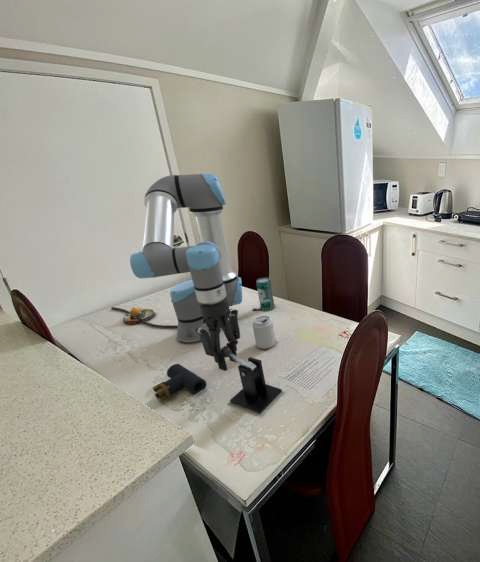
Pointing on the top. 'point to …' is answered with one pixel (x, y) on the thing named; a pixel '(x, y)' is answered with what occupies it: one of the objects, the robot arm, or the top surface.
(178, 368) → the pipe connector
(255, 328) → the can
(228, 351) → the tap lever
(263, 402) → the bracket
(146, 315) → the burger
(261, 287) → the can
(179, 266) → the robot arm
